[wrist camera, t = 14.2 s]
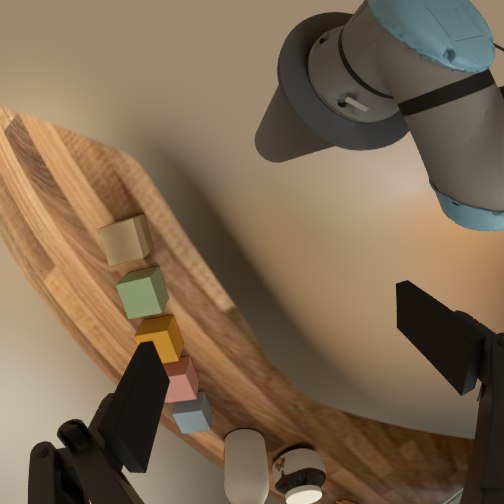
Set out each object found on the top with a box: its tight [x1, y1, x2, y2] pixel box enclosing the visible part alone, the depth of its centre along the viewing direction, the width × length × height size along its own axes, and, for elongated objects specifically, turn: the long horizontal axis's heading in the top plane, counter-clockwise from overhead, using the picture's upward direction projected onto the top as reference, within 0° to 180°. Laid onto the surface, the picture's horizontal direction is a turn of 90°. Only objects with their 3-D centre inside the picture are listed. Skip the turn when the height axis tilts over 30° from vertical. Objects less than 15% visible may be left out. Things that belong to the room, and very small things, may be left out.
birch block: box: [99, 214, 154, 266], centre depth 37 cm, size 5×5×5 cm
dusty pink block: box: [162, 356, 199, 403], centre depth 43 cm, size 5×5×5 cm
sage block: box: [116, 266, 169, 319], centre depth 39 cm, size 5×5×5 cm
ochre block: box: [134, 315, 184, 363], centre depth 41 cm, size 5×5×5 cm
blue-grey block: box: [172, 391, 212, 433], centre depth 45 cm, size 5×5×5 cm
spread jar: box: [272, 447, 326, 504], centre depth 47 cm, size 12×11×12 cm
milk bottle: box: [224, 429, 269, 504], centre depth 40 cm, size 8×8×20 cm
